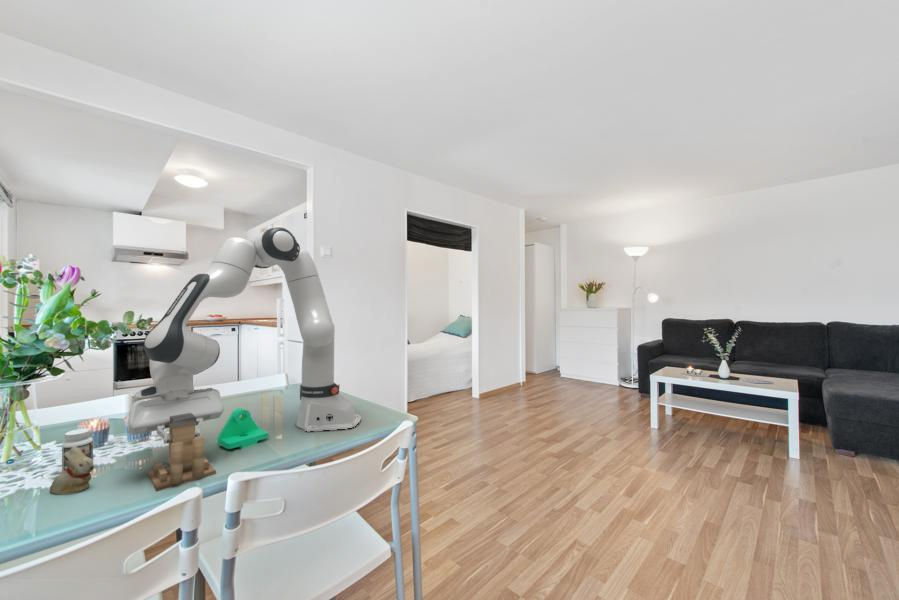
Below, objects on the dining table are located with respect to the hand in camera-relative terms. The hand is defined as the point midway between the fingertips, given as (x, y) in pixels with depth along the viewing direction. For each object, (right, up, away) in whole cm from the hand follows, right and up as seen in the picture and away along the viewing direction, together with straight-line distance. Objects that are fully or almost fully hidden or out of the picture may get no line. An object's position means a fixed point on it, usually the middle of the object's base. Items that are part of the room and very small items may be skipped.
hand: (182, 438), depth 93 cm
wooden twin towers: (-1, -9, 0) cm, 9 cm away
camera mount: (+4, -10, +21) cm, 23 cm away
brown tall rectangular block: (-1, -6, 0) cm, 6 cm away
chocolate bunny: (-20, -9, -8) cm, 23 cm away
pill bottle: (-29, -9, +2) cm, 30 cm away
